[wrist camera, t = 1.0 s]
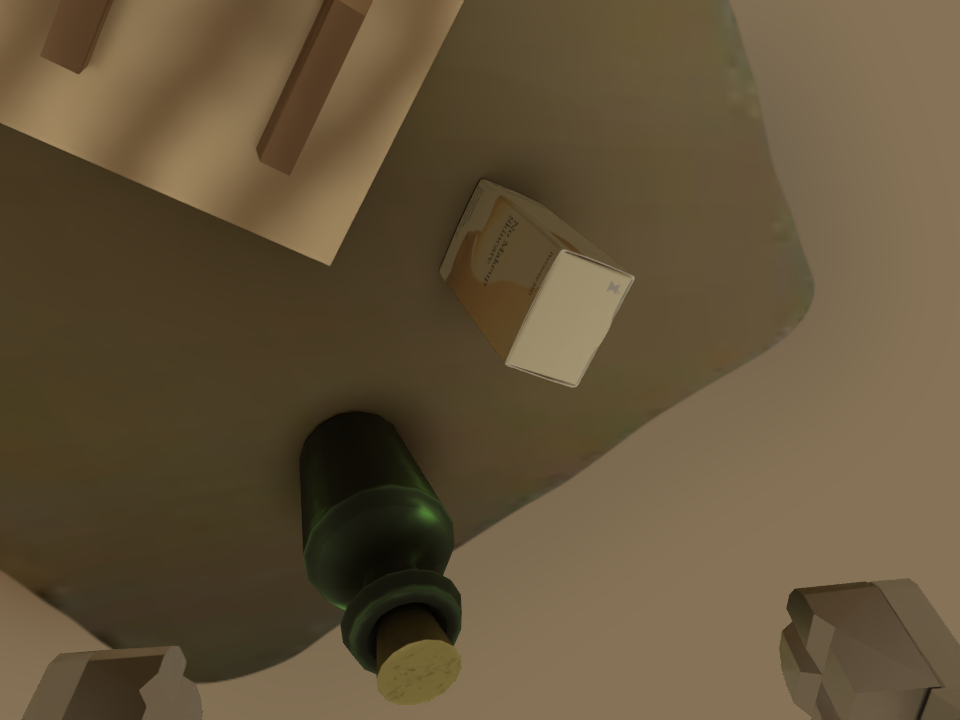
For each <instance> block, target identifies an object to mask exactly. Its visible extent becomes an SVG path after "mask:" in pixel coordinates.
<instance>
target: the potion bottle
mask: <svg viewBox="0 0 960 720" xmlns="http://www.w3.org/2000/svg"><path fill="white" fill-rule="evenodd" d="M300 483H301V509H302V534H303V556H304V563H305V569H306V575H307V579H308V581H309V582H310V583H311V584H312V586H313V587H314V588H315V589H316V590H317V592H318V593H319V594H320V595H321V597H322V598H324V599H325V600H327V601H328V602H330V603H331V604H333V605H335V606H338V607H340V608H342V609H344V610H346V611H345V614H344V616H343V619H342V622H341V631H342V638H343V643H344V644H345V646H346V647H347V648H348V650H349V651H350V652H351V654H352V655H353V656H354V657H355V659H356V660H357V661H358V662H359V663H360V664H361V666H362V667H363V668H364V669H365V670H368V671H370V672H372V673H375V674H377V685H378V691H379V692H380V693H381V695H382V696H383V697H384V698H385V699H386V700H388V701H390V702H393V703H395V704H398V705H416V704H420V703H423V702H427V701H430V700H432V699H434V698H435V697H437V696H439V695H441V694H442V693H444V692H445V691H446V690H447V689H448V688H449V687H450V686H451V685H452V684H453V683H454V682H455V681H456V679H457V676H458V674H459V672H460V669H461V656H460V654H459V653H458V652H457V650H456V649H455V648H454V644H455V642H456V640H457V637H458V635H459V633H460V630H461V615H462V611H461V595H460V593H459V591H458V590H457V588H456V587H455V585H454V584H453V583H452V581H451V580H450V579H448V578H446V577H444V576H443V574H444V571H445V569H446V566H447V564H448V561H449V559H450V556H451V554H452V551H453V548H454V528H453V521H452V519H451V518H450V516H449V515H448V513H447V511H446V510H445V508H444V506H443V505H442V503H441V502H440V500H439V498H438V497H437V495H436V494H435V492H434V490H433V489H432V487H431V486H430V484H429V482H428V481H427V479H426V478H425V476H424V474H423V473H422V471H421V470H420V468H419V466H418V465H417V463H416V462H415V460H414V458H413V457H412V455H411V454H410V452H409V450H408V449H407V447H406V445H405V444H404V442H403V441H402V439H401V437H400V436H399V434H398V433H397V431H396V429H395V428H394V426H393V425H391V424H390V423H388V422H387V421H385V420H383V419H382V418H380V417H379V416H376V415H370V414H364V413H358V412H357V413H352V414H346V415H341V416H336V417H335V418H333V419H331V420H329V421H327V422H326V423H324V424H322V425H320V426H319V427H318V428H317V429H316V430H315V431H314V432H313V433H312V435H311V436H310V437H309V438H308V439H307V440H306V442H305V444H304V447H303V451H302V454H301V457H300Z"/></svg>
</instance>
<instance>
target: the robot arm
mask: <svg viewBox="0 0 960 720" xmlns="http://www.w3.org/2000/svg"><path fill="white" fill-rule="evenodd" d="M787 611H788V612H789V615H790V617H791V619H792V622H791V623H790V624H789V625H788V626H787V627H786V628H785V629H784V630H783V631H782V634H781V641H780V658H781V667H782V672H783V675H784V678H785V682H786V685H787V688H788V690H789V692H790V694H791V697H792V700H793V702H794V703H795V704H796V705H797V706H798V707H800V708H801V709H802V710H804V711H805V712H806V713H807V714H809V715H810V716H811V717H812V719H811V720H960V645H959V643H958V642H957V640H956V639H955V638H954V636H953V635H952V633H951V632H950V630H949V629H948V627H947V626H946V625H945V623H944V622H943V620H942V619H941V617H940V616H939V615H938V613H937V612H936V610H935V609H934V608H933V606H932V605H931V603H930V602H929V600H928V599H927V597H926V596H925V595H924V593H923V592H922V591H921V589H920V588H919V586H918V585H917V584H916V583H915V582H913V581H912V580H910V579H909V578H908V579H896V580H885V581H873V582H869V583H868V582H856V583H847V584H837V585H827V586H817V587H807V588H798V589H794V590H793V591H792V593H791V594H790V595H789V599H788V604H787ZM186 663H187V662H186V660H185V658H184V656H183V653H182V651H181V649H180V647H179V646H164V647H148V648H132V649H116V650H101V651H89V652H76V653H64V654H59V655H58V656H57V657H56V658H55V659H54V660H53V661H52V662H51V663H50V664H49V665H48V667H47V669H46V671H45V673H44V675H43V677H42V679H41V681H40V683H39V685H38V687H37V689H36V691H35V693H34V695H33V697H32V699H31V701H30V703H29V705H28V707H27V709H26V712H25V713H24V715H23V718H22V719H21V720H202V713H203V712H202V705H201V698H200V695H199V692H198V689H197V686H196V684H195V683H193V682H192V681H190V680H188V679H187V678H185V677H184V676H183V672H184V669H185V666H186Z"/></svg>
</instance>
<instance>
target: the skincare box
mask: <svg viewBox="0 0 960 720" xmlns="http://www.w3.org/2000/svg"><path fill="white" fill-rule="evenodd" d="M439 273H440V275H441V276H442V277H443V279H444V280H445V282H446V283H447V284H448V286H449V287H450V289H451V290H452V291H453V293H454V294H455V295H456V297H457V298H458V300H459V301H460V302H461V304H462V305H463V307H464V308H465V309H466V311H467V312H468V314H469V315H470V316H471V318H472V319H473V320H474V322H475V323H476V325H477V326H478V327H479V329H480V330H481V332H482V333H483V334H484V336H485V337H486V338H487V340H488V341H489V343H490V344H491V345H492V347H493V348H494V350H495V351H496V352H497V354H498V355H499V356H500V358H501V359H502V361H503V362H504V363H505V365H507V366H509V367H512V368H515V369H518V370H520V371H523V372H526V373H529V374H532V375H534V376H538V377H540V378H544V379H547V380H549V381H552V382H555V383H559V384H562V385H565V386H568V387H572V388H574V387H576V386H577V385H578V384H579V382H580V380H581V378H582V377H583V375H584V373H585V371H586V369H587V367H588V365H589V364H590V362H591V360H592V358H593V356H594V354H595V352H596V351H597V349H598V347H599V345H600V344H601V342H602V341H603V339H604V337H605V335H606V334H607V332H608V329H609V327H610V325H611V323H612V321H613V319H614V317H615V315H616V313H617V311H618V309H619V308H620V306H621V304H622V302H623V300H624V298H625V296H626V294H627V292H628V291H629V289H630V287H631V285H632V283H633V282H634V279H635V277H634V276H633V275H632V274H630V273H629V272H628V271H627V270H625V269H624V268H623V267H621V266H620V265H619V264H617V263H616V262H615V261H614V260H612V259H611V258H610V257H608V256H607V255H606V254H605V253H603V252H602V251H601V250H600V249H598V248H597V247H596V246H594V245H593V244H592V243H591V242H589V241H588V240H587V239H586V238H584V237H583V236H582V235H580V234H579V233H578V232H577V231H575V230H574V229H573V228H571V227H570V226H569V225H568V224H566V223H565V222H564V221H563V220H561V219H560V218H559V217H557V216H556V215H555V214H553V213H552V212H551V211H550V210H548V209H547V208H546V207H544V206H543V205H542V204H541V203H539V202H537V201H534V200H532V199H530V198H528V197H526V196H524V195H522V194H519V193H517V192H515V191H513V190H510V189H508V188H505V187H503V186H501V185H498V184H495V183H493V182H490V181H487V180H484V179H482V180H480V182H479V184H478V185H477V187H476V189H475V191H474V193H473V196H472V198H471V200H470V202H469V204H468V206H467V208H466V210H465V212H464V214H463V217H462V219H461V221H460V223H459V225H458V227H457V230H456V232H455V234H454V237H453V239H452V241H451V244H450V246H449V249H448V251H447V253H446V256H445V258H444V261H443V263H442V266H441V268H440V271H439Z"/></svg>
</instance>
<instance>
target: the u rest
mask: <svg viewBox="0 0 960 720" xmlns="http://www.w3.org/2000/svg"><path fill="white" fill-rule="evenodd" d="M463 2H464V0H0V123H2V124H4V125H6V126H9V127H11V128H13V129H16V130H18V131H20V132H22V133H25V134H27V135H29V136H32V137H34V138H36V139H39V140H41V141H43V142H46V143H48V144H50V145H52V146H55V147H57V148H59V149H62V150H64V151H66V152H69V153H71V154H73V155H75V156H78V157H80V158H82V159H85V160H87V161H89V162H92V163H94V164H96V165H98V166H101V167H103V168H105V169H108V170H110V171H112V172H115V173H117V174H119V175H122V176H124V177H126V178H128V179H131V180H133V181H135V182H138V183H140V184H142V185H145V186H147V187H149V188H151V189H154V190H156V191H158V192H161V193H163V194H165V195H168V196H170V197H172V198H174V199H177V200H179V201H181V202H184V203H186V204H188V205H191V206H193V207H195V208H198V209H200V210H202V211H204V212H207V213H209V214H211V215H214V216H216V217H218V218H221V219H223V220H225V221H227V222H230V223H232V224H234V225H237V226H239V227H241V228H244V229H246V230H248V231H250V232H253V233H255V234H257V235H260V236H262V237H264V238H267V239H269V240H271V241H274V242H276V243H278V244H280V245H283V246H285V247H287V248H290V249H292V250H294V251H297V252H299V253H301V254H303V255H306V256H308V257H310V258H313V259H315V260H317V261H320V262H322V263H324V264H326V265H329V266H330V265H331V263H332V261H333V259H334V257H335V255H336V253H337V251H338V249H339V247H340V245H341V243H342V241H343V239H344V237H345V235H346V233H347V231H348V229H349V227H350V225H351V223H352V221H353V219H354V217H355V215H356V213H357V211H358V209H359V208H360V206H361V204H362V202H363V200H364V198H365V196H366V194H367V192H368V190H369V188H370V186H371V184H372V182H373V180H374V178H375V176H376V174H377V172H378V170H379V168H380V166H381V164H382V162H383V160H384V158H385V156H386V154H387V152H388V150H389V148H390V146H391V144H392V142H393V140H394V138H395V136H396V134H397V132H398V130H399V128H400V126H401V124H402V122H403V120H404V118H405V116H406V115H407V113H408V111H409V109H410V107H411V105H412V103H413V101H414V99H415V97H416V95H417V93H418V91H419V89H420V87H421V85H422V83H423V81H424V79H425V77H426V75H427V73H428V71H429V69H430V67H431V65H432V63H433V61H434V59H435V57H436V55H437V53H438V51H439V49H440V47H441V45H442V43H443V41H444V39H445V37H446V35H447V33H448V31H449V29H450V27H451V25H452V23H453V22H454V20H455V18H456V16H457V14H458V12H459V10H460V8H461V6H462V4H463Z"/></svg>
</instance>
